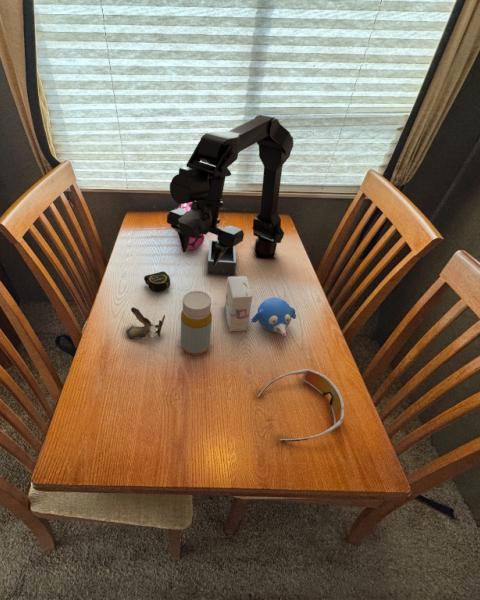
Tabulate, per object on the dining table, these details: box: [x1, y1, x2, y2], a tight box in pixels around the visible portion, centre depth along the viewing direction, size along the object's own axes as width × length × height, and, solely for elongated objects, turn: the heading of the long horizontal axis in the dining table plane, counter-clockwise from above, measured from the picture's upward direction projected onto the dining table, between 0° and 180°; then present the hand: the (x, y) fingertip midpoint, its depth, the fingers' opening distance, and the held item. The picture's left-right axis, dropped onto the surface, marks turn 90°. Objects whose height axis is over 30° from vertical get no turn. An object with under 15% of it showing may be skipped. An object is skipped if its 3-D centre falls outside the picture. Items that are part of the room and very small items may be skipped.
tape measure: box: [143, 271, 171, 293], centre depth 95 cm, size 7×7×4 cm
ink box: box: [224, 275, 254, 332], centre depth 82 cm, size 9×5×12 cm, turn 5°
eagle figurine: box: [125, 306, 166, 339], centre depth 80 cm, size 8×7×9 cm
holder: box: [206, 239, 237, 277], centre depth 104 cm, size 9×13×5 cm
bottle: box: [180, 290, 213, 356], centre depth 74 cm, size 7×7×15 cm
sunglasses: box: [257, 368, 345, 442], centre depth 66 cm, size 14×15×5 cm
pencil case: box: [173, 202, 205, 250], centre depth 116 cm, size 21×10×10 cm, turn 7°
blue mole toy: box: [251, 297, 297, 338], centre depth 81 cm, size 12×12×8 cm
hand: (199, 258), depth 81 cm, fingers open, 9 cm apart
